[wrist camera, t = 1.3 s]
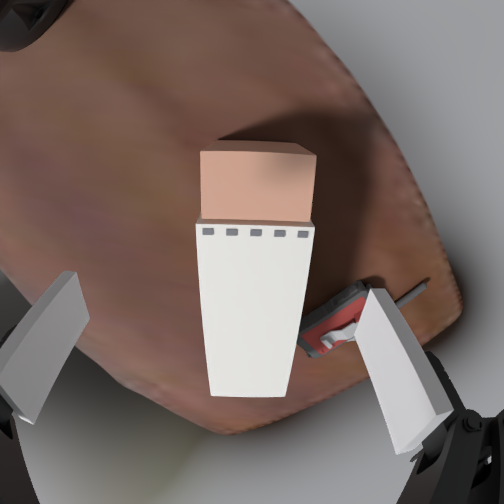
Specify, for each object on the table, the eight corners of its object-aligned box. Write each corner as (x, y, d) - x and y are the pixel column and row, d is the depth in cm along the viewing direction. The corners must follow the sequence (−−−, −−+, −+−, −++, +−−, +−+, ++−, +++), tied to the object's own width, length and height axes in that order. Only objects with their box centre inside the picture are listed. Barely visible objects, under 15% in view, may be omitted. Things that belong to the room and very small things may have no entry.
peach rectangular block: (215, 140, 26) (200, 151, 18) (296, 143, 27) (316, 155, 19) (215, 188, 29) (201, 218, 21) (292, 190, 29) (309, 222, 21)
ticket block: (210, 192, 29) (195, 224, 21) (297, 194, 29) (316, 227, 21) (216, 344, 39) (210, 396, 31) (279, 346, 39) (285, 397, 31)
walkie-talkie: (315, 356, 41) (424, 283, 36) (320, 378, 37) (438, 301, 32) (281, 327, 38) (403, 241, 32) (284, 350, 34) (420, 258, 28)
